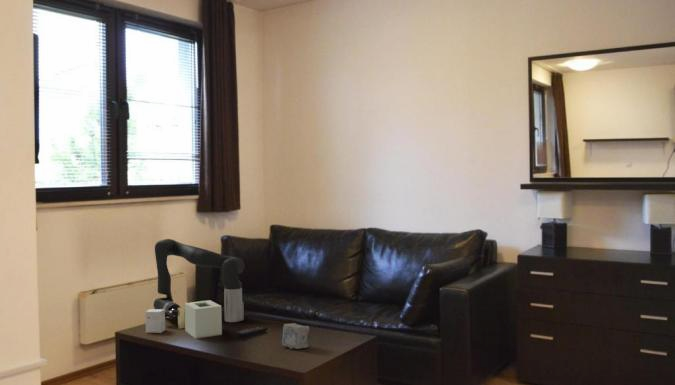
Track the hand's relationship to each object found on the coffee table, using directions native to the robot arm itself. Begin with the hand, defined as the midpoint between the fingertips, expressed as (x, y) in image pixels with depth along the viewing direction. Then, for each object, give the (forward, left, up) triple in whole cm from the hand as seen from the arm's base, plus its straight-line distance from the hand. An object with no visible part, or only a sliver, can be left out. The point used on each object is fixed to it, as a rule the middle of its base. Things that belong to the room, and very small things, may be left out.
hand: (181, 315), depth 305 cm
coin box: (-6, +16, -6) cm, 18 cm away
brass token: (0, 0, -6) cm, 6 cm away
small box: (+13, 0, -6) cm, 14 cm away
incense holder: (-33, +62, -6) cm, 71 cm away
